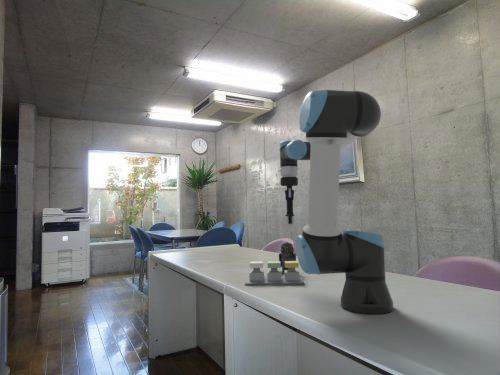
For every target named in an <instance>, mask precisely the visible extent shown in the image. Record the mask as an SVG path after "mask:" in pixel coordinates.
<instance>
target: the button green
mask: <svg viewBox="0 0 500 375" xmlns="http://www.w3.org/2000/svg"><path fill="white" fill-rule="evenodd" d="M280 268H281V269H282V267H281V263H280V261H279V260H277V261H276V260H272V261H270V260H268V261H267V269H270V270H271V272H278V269H280Z"/></svg>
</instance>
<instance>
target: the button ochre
mask: <svg viewBox="0 0 500 375" xmlns="http://www.w3.org/2000/svg"><path fill="white" fill-rule="evenodd" d="M299 265H300V264H299V260H296V261H285V268H288V272H295V270H296V269H298V268H299Z"/></svg>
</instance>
